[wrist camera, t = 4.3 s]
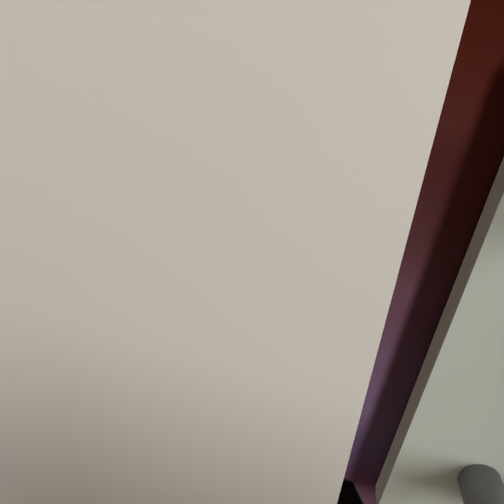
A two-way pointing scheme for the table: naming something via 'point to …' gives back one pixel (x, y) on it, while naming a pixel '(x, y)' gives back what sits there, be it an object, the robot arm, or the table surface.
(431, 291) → the table surface
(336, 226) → the shelf board
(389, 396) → the table surface
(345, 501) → the robot arm
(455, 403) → the peg stand
